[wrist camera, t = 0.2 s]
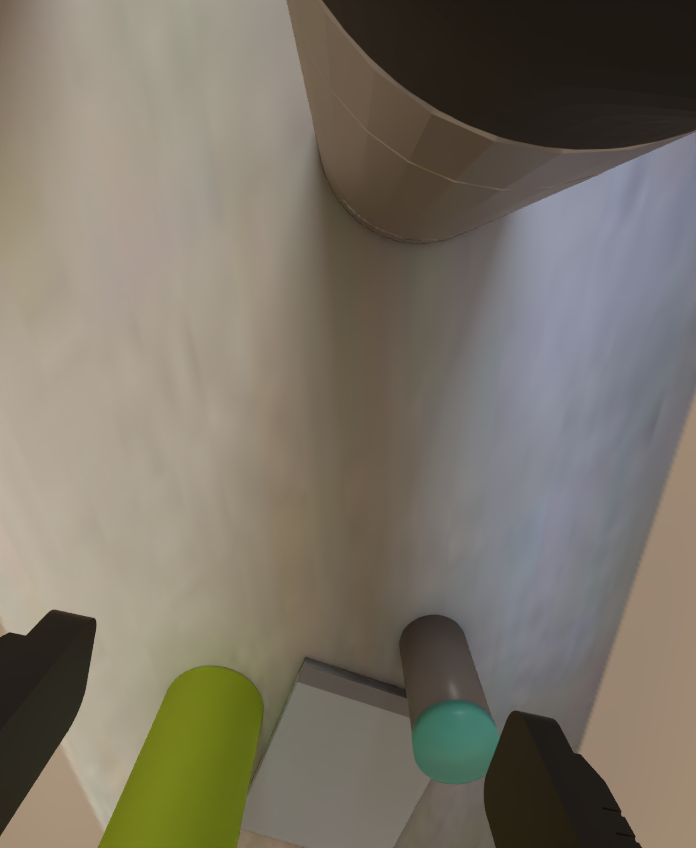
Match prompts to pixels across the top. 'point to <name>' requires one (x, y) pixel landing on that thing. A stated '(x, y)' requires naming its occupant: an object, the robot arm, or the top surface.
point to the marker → (446, 702)
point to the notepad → (337, 764)
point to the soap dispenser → (192, 766)
